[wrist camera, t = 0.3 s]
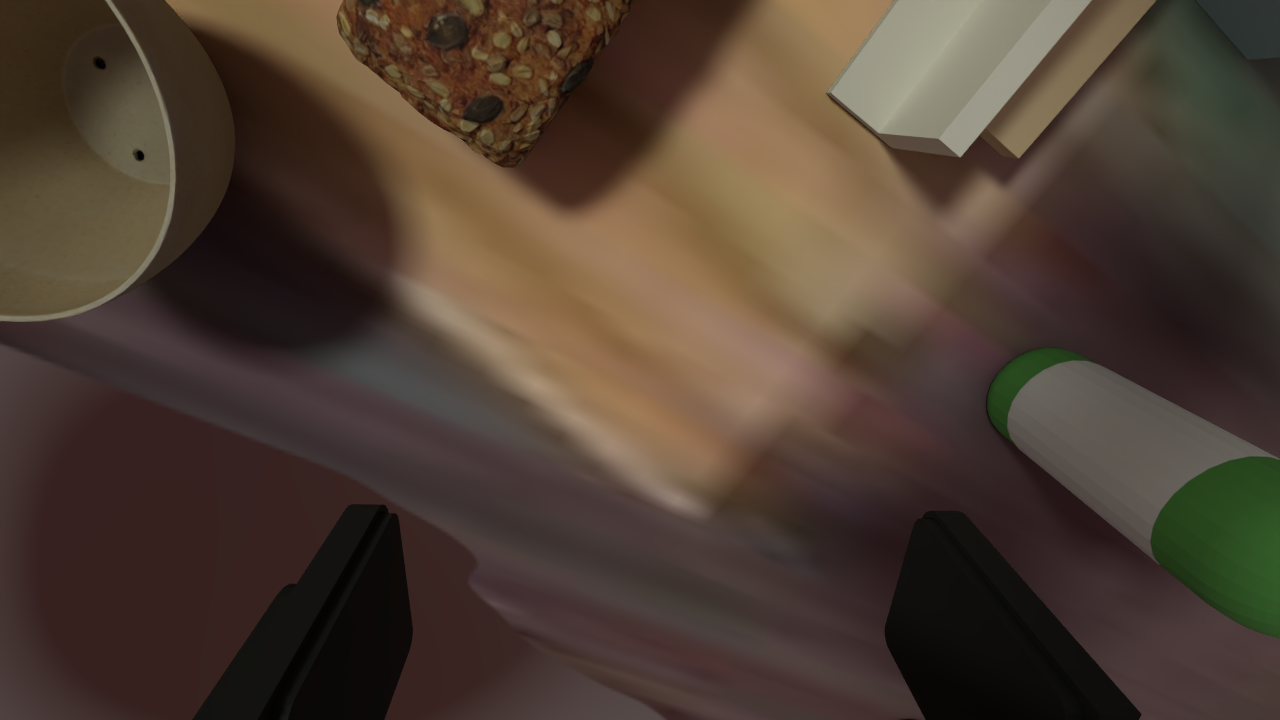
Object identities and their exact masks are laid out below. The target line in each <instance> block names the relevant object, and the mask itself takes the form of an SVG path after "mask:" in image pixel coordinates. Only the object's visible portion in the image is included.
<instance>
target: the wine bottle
mask: <svg viewBox="0 0 1280 720" xmlns="http://www.w3.org/2000/svg"><path fill="white" fill-rule="evenodd" d="M987 410H988V414H989V417H990V420H991V422H992V423H993V424H994V426H995V427H996V428H997V430H998V431H999V432H1000V433H1001V434H1002V435H1003V436H1004V437H1006V438H1007V439H1008V440H1009V441H1010V442H1012V443H1013V444H1014V445H1015V446H1016V447H1018V449H1019V450H1021V451H1022V452H1023V453H1024V454H1025V455H1027V456H1028V457H1029V458H1030V459H1032V460H1033V461H1034V462H1035V463H1036V464H1038V465H1039V466H1040V467H1041V468H1042V469H1044V470H1045V471H1046V472H1047V473H1049V474H1050V475H1051V476H1052V477H1053V478H1055V479H1056V480H1057V481H1058V482H1059V483H1061V484H1062V485H1063V486H1064V487H1066V488H1067V489H1068V490H1069V491H1070V492H1072V493H1073V494H1074V495H1075V496H1076V497H1078V498H1079V499H1080V500H1081V501H1083V502H1084V503H1085V504H1086V505H1087V506H1089V507H1090V508H1091V509H1092V510H1093V511H1095V512H1096V513H1097V514H1098V515H1100V516H1101V517H1102V518H1103V519H1104V520H1106V521H1107V522H1108V523H1109V524H1110V525H1112V526H1113V527H1114V528H1115V529H1117V530H1118V531H1119V532H1120V533H1121V534H1123V535H1124V536H1125V537H1126V538H1127V539H1129V540H1130V541H1131V542H1132V543H1134V544H1135V545H1136V546H1137V547H1138V548H1140V549H1141V550H1142V551H1143V552H1144V553H1146V554H1147V555H1148V556H1149V557H1151V558H1152V559H1153V560H1154V561H1155V562H1157V563H1158V564H1159V565H1160V566H1162V567H1163V568H1165V569H1166V570H1167V571H1168V572H1169V573H1171V574H1172V575H1173V576H1174V577H1176V578H1177V579H1178V580H1179V581H1180V582H1182V583H1183V584H1184V585H1185V586H1186V587H1188V588H1189V589H1190V590H1191V591H1193V592H1194V593H1195V594H1196V595H1197V596H1199V597H1200V598H1201V599H1202V600H1204V601H1205V602H1206V603H1207V604H1209V605H1210V606H1212V607H1213V608H1215V609H1216V610H1218V611H1219V612H1221V613H1222V614H1224V615H1225V616H1227V617H1228V618H1230V619H1232V620H1233V621H1235V622H1237V623H1239V624H1241V625H1243V626H1245V627H1247V628H1249V629H1252V630H1254V631H1256V632H1259V633H1262V634H1265V635H1269V636H1272V637H1276V638H1280V459H1279V458H1277V457H1275V456H1273V455H1271V454H1269V453H1267V452H1265V451H1263V450H1261V449H1260V448H1258V447H1256V446H1254V445H1252V444H1250V443H1248V442H1246V441H1244V440H1242V439H1240V438H1239V437H1237V436H1235V435H1233V434H1231V433H1229V432H1227V431H1225V430H1223V429H1221V428H1220V427H1218V426H1216V425H1214V424H1212V423H1210V422H1208V421H1206V420H1204V419H1202V418H1200V417H1199V416H1197V415H1195V414H1193V413H1191V412H1189V411H1187V410H1185V409H1183V408H1181V407H1179V406H1178V405H1176V404H1174V403H1172V402H1170V401H1168V400H1166V399H1164V398H1162V397H1160V396H1158V395H1157V394H1155V393H1153V392H1151V391H1149V390H1147V389H1145V388H1143V387H1141V386H1139V385H1138V384H1136V383H1134V382H1132V381H1130V380H1128V379H1126V378H1124V377H1122V376H1120V375H1118V374H1117V373H1115V372H1113V371H1111V370H1109V369H1107V368H1105V367H1103V366H1101V365H1098V364H1096V363H1095V362H1093V361H1091V360H1089V359H1087V358H1085V357H1083V356H1081V355H1079V354H1077V353H1074V352H1071V351H1068V350H1065V349H1061V348H1041V349H1037V350H1032V351H1029V352H1027V353H1024V354H1022V355H1020V356H1018V357H1016V358H1015V359H1013V360H1012V361H1011V362H1009V363H1008V364H1006V365H1005V366H1004V367H1003V369H1002V370H1001V371H1000V372H999V373H998V374H997V375H996V377H995V379H994V380H993V382H992V384H991V386H990V389H989V392H988V395H987Z"/></svg>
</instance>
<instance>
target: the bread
mask: <svg viewBox="0 0 1280 720" xmlns="http://www.w3.org/2000/svg"><path fill="white" fill-rule="evenodd" d="M634 2H635V0H344V1H343V2H342V4H341V6H340V9H339V11H338V13H337V25H338V30H339V34H340V35H341V37H342V38H343V39H344V41H345V42H346V44H347V45H348V47H349V48H350V50H351V52H352V53H353V55H354V56H355V58H356V59H357V60H358V61H360V62H361V63H362V64H364V65H366V66H368V67H369V68H370V69H371V70H372V71H373V72H374V73H376V74H377V75H378V76H379V77H380V78H381V79H383V80H384V81H385V82H386V83H387V84H388V85H390V86H391V87H393V88H394V89H395V90H397V91H398V92H400V94H401V95H402V97H403V98H404V99H405V100H406V101H407V102H409V103H410V104H411V105H412V106H413V107H414V108H415V109H416V110H417V111H418V112H419V113H421V114H422V115H423V116H425V117H426V118H427V119H428V120H430V121H431V122H433V123H434V124H436V125H437V126H439V127H441V128H442V129H444V130H446V131H448V132H451V133H452V134H454V135H456V136H457V137H459V138H460V139H462V140H463V141H464V142H465V143H466V144H467V145H468V146H469V147H470V148H471V149H472V150H473V151H475V152H477V153H480V154H482V155H484V156H485V157H486V158H488V159H489V160H490V161H492V162H493V163H495V164H497V165H499V166H502V167H511V168H513V167H517V166H520V164H522V163H523V161H524V160H525V159H526V158H527V156H528V154H529V152H530V151H531V149H532V148H533V145H534V144H535V143H536V142H537V140H538V139H539V137H540V136H541V134H542V133H543V132H544V130H545V129H546V127H547V126H548V124H549V123H550V122H551V120H552V119H553V118H554V116H555V115H556V113H557V112H558V111H559V110H560V108H561V107H562V106H563V105H564V103H565V102H566V101H567V99H568V97H569V95H570V94H571V93H572V91H573V90H574V88H576V87H577V86H578V85H580V84H581V83H582V82H583V81H584V80H585V78H586V77H587V75H588V73H589V72H590V70H591V68H592V65H593V62H594V59H595V58H596V57H597V56H598V55H599V54H600V53H601V52H602V51H603V49H604V47H606V46H607V45H608V43H609V40H610V38H612V37H613V36H614V35H615V34H616V33H617V32H618V30H619V28H620V26H621V24H622V23H623V22H624V20H625V19H626V17H627V16H628V15H629V13H630V8H631V6H632V5H633V3H634Z"/></svg>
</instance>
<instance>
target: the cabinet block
mask: <svg viewBox="0 0 1280 720" xmlns="http://www.w3.org/2000/svg"><path fill="white" fill-rule="evenodd" d="M1196 1H1197V3H1198V4H1199V5H1200V6H1201V7H1202V8H1203V9H1204V11H1205V12H1206V13H1207V14H1208V15H1209V16H1210V17H1211V19H1212V20H1213V21H1214V22H1215V23H1216V24H1217V25H1218V27H1219V28H1220V29H1221V30H1222V31H1223V32H1224V34H1225V35H1226V36H1227V37H1228V38H1229V39H1230V40H1231V42H1232V43H1233V44H1234V45H1235V46H1236V47H1237V48H1238V50H1239V51H1240V52H1241V53H1242V54H1243V55H1244V56H1245V58H1246V59H1247V60H1254V59H1267V58H1280V0H1196Z"/></svg>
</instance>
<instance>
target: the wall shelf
mask: <svg viewBox="0 0 1280 720" xmlns="http://www.w3.org/2000/svg"><path fill="white" fill-rule="evenodd" d="M1155 1H1156V0H894V1H893V2H892V4H891V5H890V6H889V8H888V9H887V11H886V12H885V13H884V15H883V16H882V17H881V19H880V20H879V22H878V23H877V24H876V26H875V27H874V28H873V30H872V31H871V32H870V34H869V35H868V37H867V38H866V39H865V41H864V42H863V43H862V45H861V46H860V48H859V49H858V50H857V52H856V53H855V54H854V56H853V57H852V58H851V60H850V61H849V63H848V64H847V65H846V67H845V68H844V69H843V71H842V72H841V74H840V75H839V76H838V78H837V79H836V80H835V82H834V83H833V84H832V86H831V87H830V89H829V90H828V91H827V94H828V95H829V96H830V97H831V98H833V99H834V100H835V101H836V102H837V103H839V104H840V105H841V106H842V107H843V108H844V109H846V110H847V111H848V112H849V113H850V114H852V115H853V116H854V117H855V118H856V119H858V120H859V121H860V122H861V123H862V124H864V125H865V126H866V127H867V128H868V129H869V130H871V131H872V132H873V133H874V134H875V135H877V136H878V137H879V138H880V139H881V140H883V141H884V142H885V143H886V144H887V145H888V146H890V147H891V148H895V149H902V150H909V151H917V152H924V153H931V154H938V155H945V156H952V157H959V158H960V157H961V156H962V155H963V154H964V153H965V151H966V150H967V149H968V148H969V147H970V145H971V144H972V143H973V142H974V141H975V139H976V138H977V137H978V136H981V137H982V138H983V139H984V140H985V141H986V142H987V143H988V144H989V145H991V146H992V147H993V148H994V149H995V150H996V151H997V152H998V153H999V154H1001V155H1002V156H1003V157H1010V158H1018V159H1019V158H1020V157H1021V156H1022V154H1023V153H1024V152H1025V151H1026V150H1027V149H1028V148H1029V146H1030V145H1031V144H1032V143H1033V142H1034V141H1035V139H1036V138H1037V137H1038V136H1039V135H1040V134H1041V133H1042V131H1043V130H1044V129H1045V128H1046V127H1047V126H1048V124H1049V123H1050V122H1051V121H1052V120H1053V119H1054V118H1055V116H1056V115H1057V114H1058V113H1059V112H1060V111H1061V110H1062V108H1063V107H1064V106H1065V105H1066V104H1067V103H1068V101H1069V100H1070V99H1071V98H1072V97H1073V96H1074V95H1075V93H1076V92H1077V91H1078V90H1079V89H1080V88H1081V87H1082V85H1083V84H1084V83H1085V82H1086V81H1087V80H1088V78H1089V77H1090V76H1091V75H1092V74H1093V73H1094V72H1095V70H1096V69H1097V68H1098V67H1099V66H1100V65H1101V63H1102V62H1103V61H1104V60H1105V59H1106V58H1107V57H1108V55H1109V54H1110V53H1111V52H1112V51H1113V50H1114V49H1115V47H1116V46H1117V45H1118V44H1119V43H1120V42H1121V40H1122V39H1123V38H1124V37H1125V36H1126V35H1127V34H1128V32H1129V31H1130V30H1131V29H1132V28H1133V27H1134V26H1135V24H1136V23H1137V22H1138V21H1139V20H1140V19H1141V17H1142V16H1143V15H1144V14H1145V13H1146V12H1147V11H1148V9H1149V8H1150V7H1151V6H1152V5H1153V4H1154V2H1155Z"/></svg>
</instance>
